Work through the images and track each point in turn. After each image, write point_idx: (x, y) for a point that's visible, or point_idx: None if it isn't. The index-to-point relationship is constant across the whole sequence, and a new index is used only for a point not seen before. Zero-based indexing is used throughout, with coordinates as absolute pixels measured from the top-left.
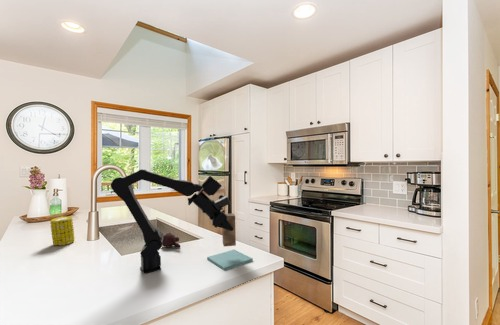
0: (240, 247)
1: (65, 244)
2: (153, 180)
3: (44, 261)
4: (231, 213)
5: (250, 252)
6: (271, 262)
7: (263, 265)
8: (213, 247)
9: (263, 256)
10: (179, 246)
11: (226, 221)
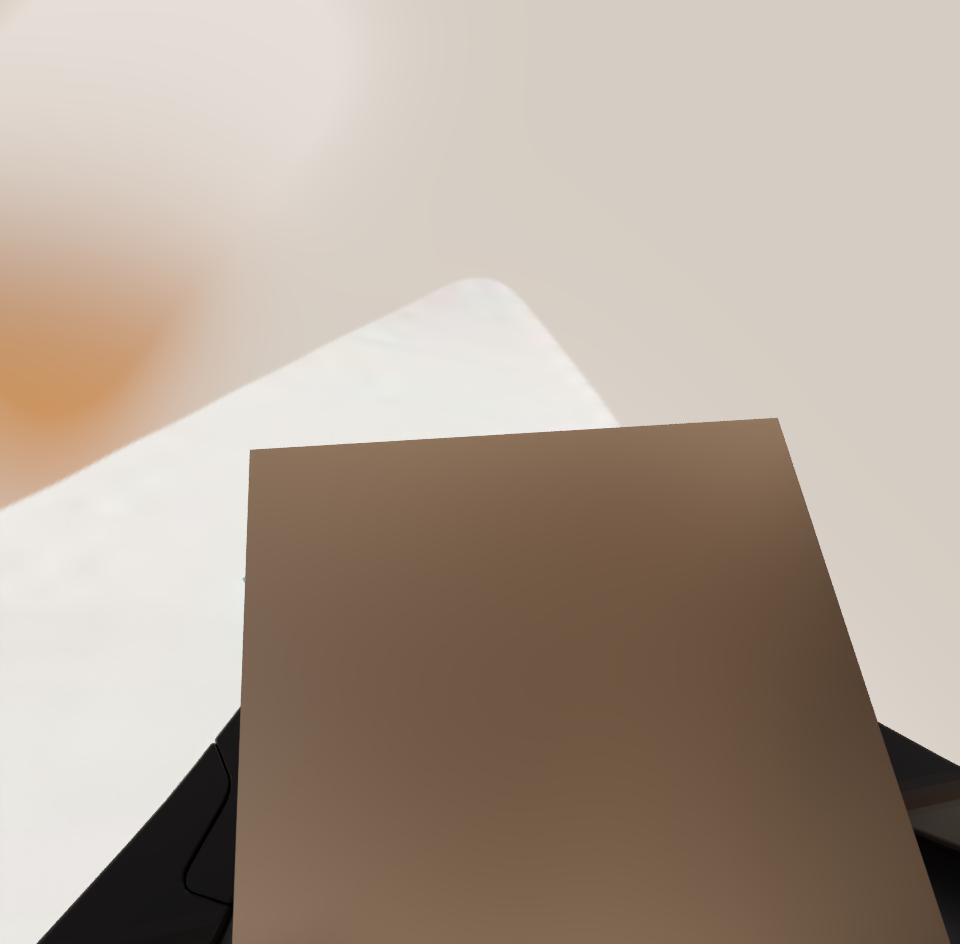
0: (148, 511)
1: None
2: None
3: None
4: (258, 561)
5: (313, 437)
6: (536, 332)
7: (578, 388)
8: (21, 837)
9: (423, 358)
10: None
11: (907, 771)
